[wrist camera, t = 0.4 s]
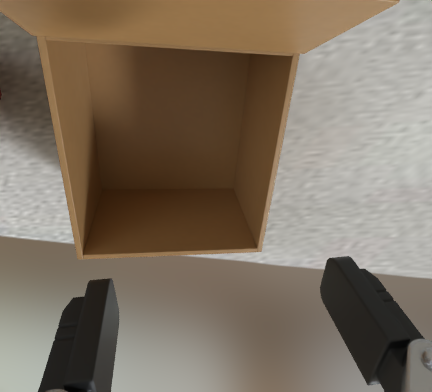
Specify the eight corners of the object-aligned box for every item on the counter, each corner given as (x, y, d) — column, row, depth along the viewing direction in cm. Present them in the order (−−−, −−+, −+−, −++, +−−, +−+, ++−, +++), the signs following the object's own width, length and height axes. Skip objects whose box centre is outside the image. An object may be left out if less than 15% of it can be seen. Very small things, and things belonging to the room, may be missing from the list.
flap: (31, 35, 15) (31, 26, 15) (304, 54, 18) (305, 46, 18) (-77, -46, 8) (-80, -63, 8) (399, 2, 11) (401, -11, 11)
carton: (77, 19, 24) (34, 30, 16) (256, 32, 27) (300, 49, 18) (98, 190, 32) (77, 259, 23) (236, 189, 34) (261, 252, 26)
